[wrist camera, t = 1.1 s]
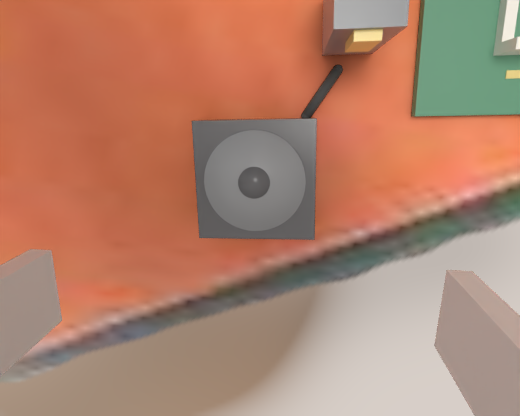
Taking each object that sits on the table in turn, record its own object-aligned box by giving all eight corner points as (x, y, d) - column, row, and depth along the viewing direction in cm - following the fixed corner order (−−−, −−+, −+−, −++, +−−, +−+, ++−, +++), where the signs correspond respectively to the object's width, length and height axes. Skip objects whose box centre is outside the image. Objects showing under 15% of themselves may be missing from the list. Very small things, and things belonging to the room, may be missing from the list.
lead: (336, 63, 30) (337, 61, 29) (344, 68, 30) (345, 67, 29) (299, 117, 31) (299, 117, 31) (307, 122, 31) (307, 122, 31)
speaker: (201, 120, 32) (189, 121, 29) (314, 118, 31) (316, 118, 28) (207, 227, 35) (197, 240, 31) (313, 228, 34) (314, 241, 30)
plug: (323, 1, 29) (335, -53, 19) (374, -1, 29) (413, -58, 19) (321, 63, 30) (333, 40, 21) (371, 61, 30) (406, 37, 20)
